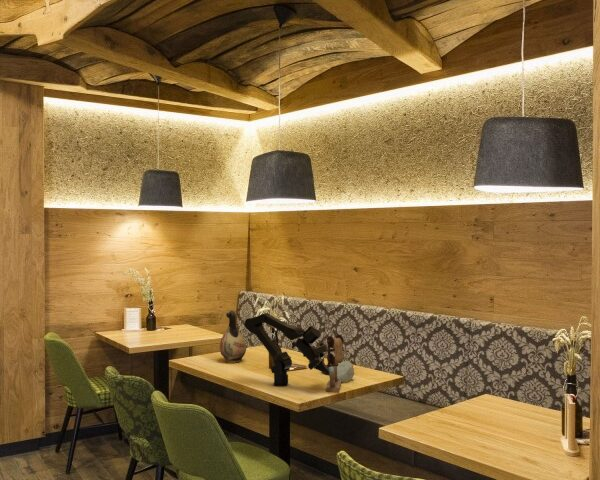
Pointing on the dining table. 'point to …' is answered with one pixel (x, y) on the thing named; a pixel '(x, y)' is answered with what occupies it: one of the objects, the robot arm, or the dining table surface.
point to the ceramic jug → (232, 341)
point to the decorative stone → (345, 371)
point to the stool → (333, 382)
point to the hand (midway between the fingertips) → (328, 373)
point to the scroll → (338, 349)
